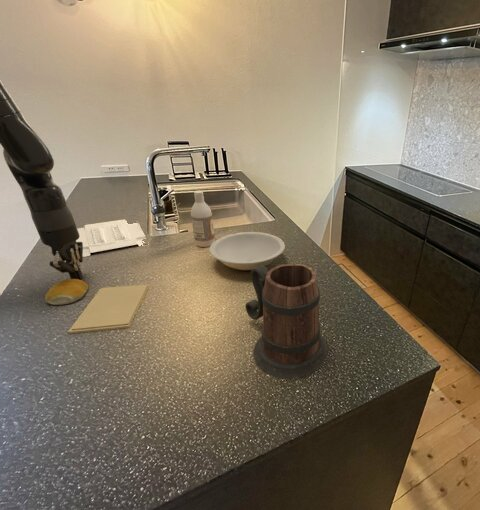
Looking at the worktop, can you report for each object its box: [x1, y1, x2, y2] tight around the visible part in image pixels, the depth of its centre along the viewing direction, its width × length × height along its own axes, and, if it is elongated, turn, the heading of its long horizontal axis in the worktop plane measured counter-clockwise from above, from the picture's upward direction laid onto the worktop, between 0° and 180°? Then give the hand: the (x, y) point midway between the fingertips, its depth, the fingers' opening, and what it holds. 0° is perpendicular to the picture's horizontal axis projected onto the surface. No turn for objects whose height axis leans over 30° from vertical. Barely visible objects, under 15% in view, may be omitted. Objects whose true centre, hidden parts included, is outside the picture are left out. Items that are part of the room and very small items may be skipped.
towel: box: [67, 284, 150, 335], centre depth 78 cm, size 12×18×1 cm, turn 15°
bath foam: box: [190, 190, 216, 248], centre depth 110 cm, size 7×7×20 cm
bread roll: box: [44, 278, 89, 306], centre depth 80 cm, size 8×9×4 cm
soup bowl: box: [209, 231, 286, 271], centre depth 103 cm, size 24×24×7 cm
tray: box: [76, 219, 150, 258], centre depth 114 cm, size 20×28×4 cm
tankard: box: [245, 263, 329, 380], centre depth 68 cm, size 24×17×20 cm
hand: (78, 280), depth 86 cm, fingers closed
